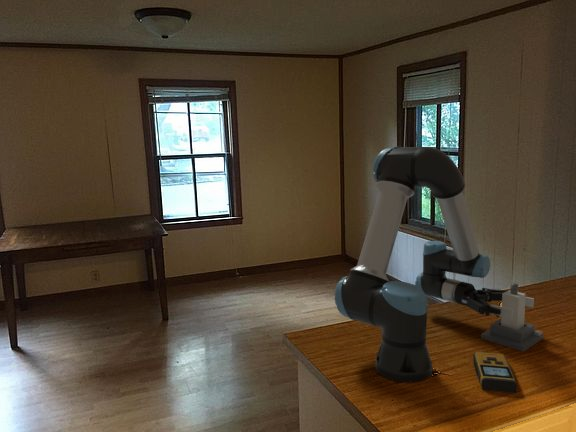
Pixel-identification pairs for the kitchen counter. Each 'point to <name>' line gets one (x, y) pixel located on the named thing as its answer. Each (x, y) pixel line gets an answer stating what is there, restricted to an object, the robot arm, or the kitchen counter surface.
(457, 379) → the kitchen counter surface
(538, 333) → the socket
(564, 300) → the kitchen counter surface
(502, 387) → the electronic device
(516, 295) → the plug
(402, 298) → the robot arm
